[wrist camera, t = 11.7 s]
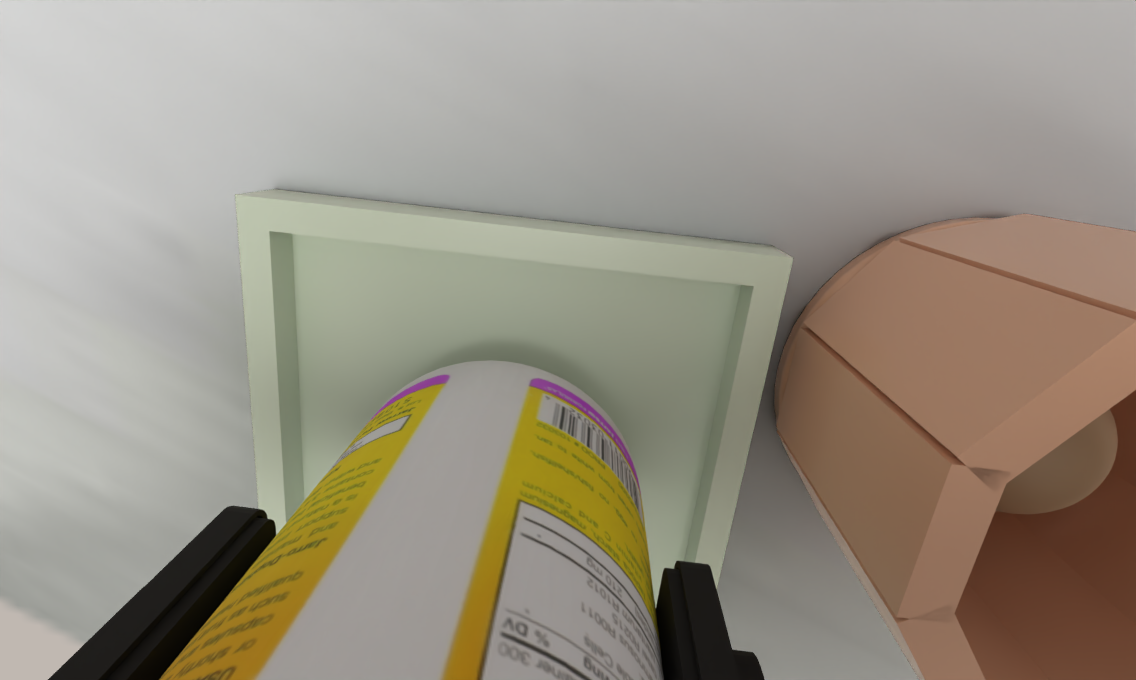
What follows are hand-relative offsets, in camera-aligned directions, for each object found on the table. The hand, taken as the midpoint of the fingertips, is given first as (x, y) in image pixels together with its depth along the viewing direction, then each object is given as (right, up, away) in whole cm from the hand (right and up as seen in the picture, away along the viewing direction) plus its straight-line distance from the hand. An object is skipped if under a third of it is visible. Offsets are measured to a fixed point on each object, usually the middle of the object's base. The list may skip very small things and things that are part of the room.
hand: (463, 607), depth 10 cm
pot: (+11, +4, +5) cm, 13 cm away
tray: (0, +2, +6) cm, 6 cm away
